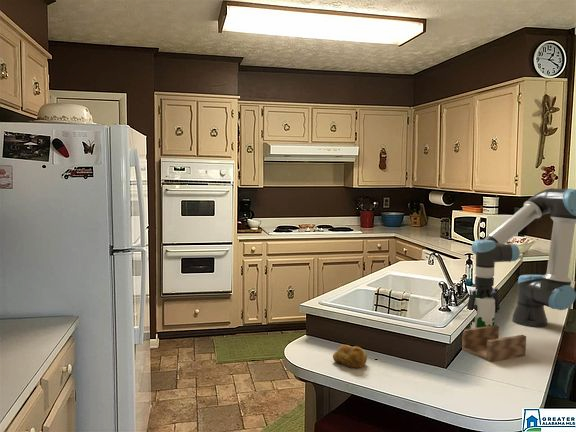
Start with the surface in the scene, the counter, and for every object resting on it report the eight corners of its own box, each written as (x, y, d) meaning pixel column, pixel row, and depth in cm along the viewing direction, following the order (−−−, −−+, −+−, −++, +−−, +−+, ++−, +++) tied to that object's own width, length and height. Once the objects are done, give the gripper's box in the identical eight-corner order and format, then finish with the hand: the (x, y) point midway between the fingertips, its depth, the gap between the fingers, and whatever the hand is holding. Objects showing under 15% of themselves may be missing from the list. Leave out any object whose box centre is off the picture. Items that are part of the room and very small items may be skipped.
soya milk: (469, 334, 220) (471, 289, 219) (491, 335, 219) (493, 290, 217) (472, 340, 212) (474, 294, 210) (495, 341, 210) (497, 295, 208)
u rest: (494, 343, 209) (495, 324, 208) (525, 355, 194) (526, 336, 194) (460, 348, 202) (461, 329, 201) (489, 361, 187) (490, 341, 187)
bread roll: (328, 364, 184) (328, 342, 184) (341, 356, 192) (341, 336, 191) (359, 372, 177) (359, 350, 176) (371, 364, 184) (372, 343, 184)
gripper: (497, 273, 221) (494, 322, 222) (458, 276, 212) (456, 327, 214) (510, 276, 214) (508, 327, 215) (471, 279, 205) (468, 333, 207)
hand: (482, 327), depth 215 cm, fingers closed on soya milk, 9 cm apart
